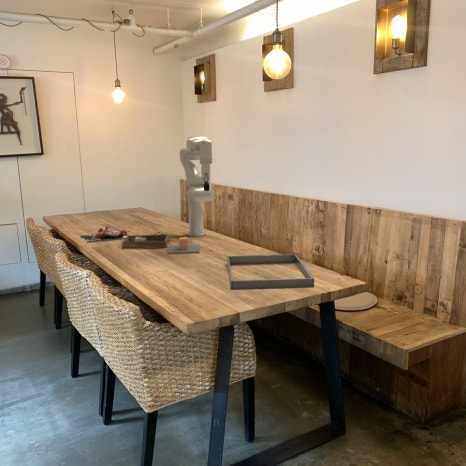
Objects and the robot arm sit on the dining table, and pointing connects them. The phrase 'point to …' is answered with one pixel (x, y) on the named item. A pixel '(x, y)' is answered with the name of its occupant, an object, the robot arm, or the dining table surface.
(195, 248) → the slate mat
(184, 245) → the terracotta block
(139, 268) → the dining table surface
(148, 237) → the reed diffuser
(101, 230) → the platter
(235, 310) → the dining table surface
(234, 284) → the charcoal rectangular open frame
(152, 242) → the walnut tray
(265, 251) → the dining table surface
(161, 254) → the dining table surface
